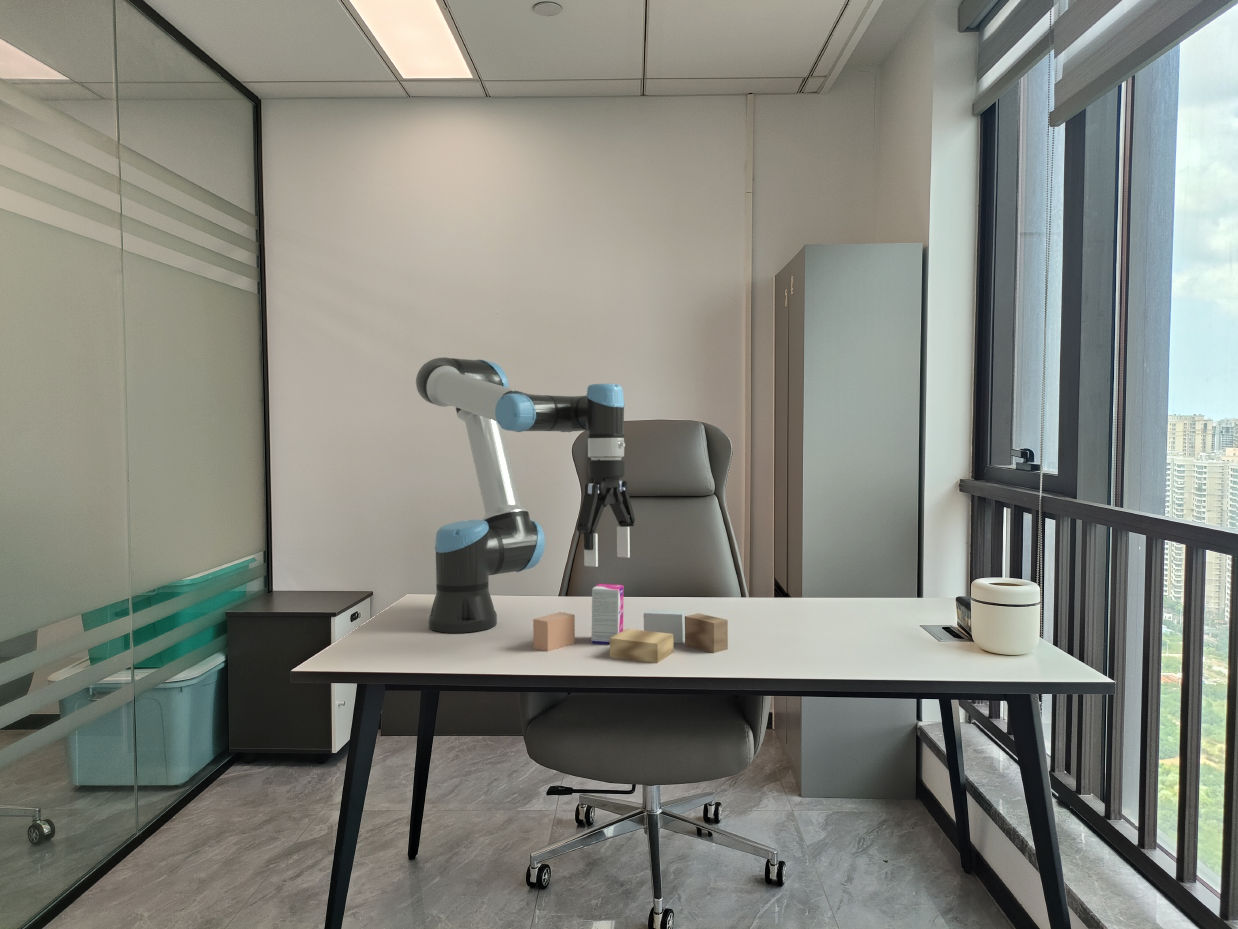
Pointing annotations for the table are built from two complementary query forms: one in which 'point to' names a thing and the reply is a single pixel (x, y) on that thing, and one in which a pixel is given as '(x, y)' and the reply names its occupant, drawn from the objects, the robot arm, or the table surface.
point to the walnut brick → (706, 632)
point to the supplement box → (606, 612)
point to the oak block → (641, 645)
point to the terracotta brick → (553, 631)
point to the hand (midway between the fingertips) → (607, 561)
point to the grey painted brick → (666, 622)
